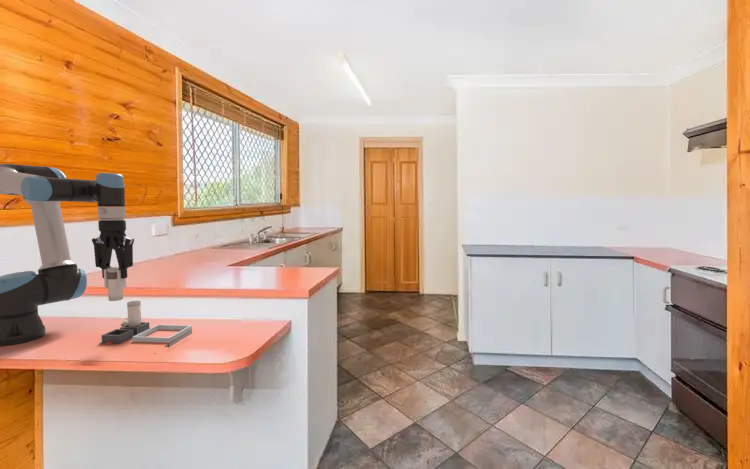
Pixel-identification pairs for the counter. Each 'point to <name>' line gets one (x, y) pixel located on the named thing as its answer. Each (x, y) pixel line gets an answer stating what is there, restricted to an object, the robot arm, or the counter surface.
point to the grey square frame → (183, 328)
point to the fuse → (134, 313)
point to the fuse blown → (113, 285)
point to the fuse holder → (123, 333)
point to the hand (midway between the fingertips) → (115, 287)
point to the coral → (125, 322)
